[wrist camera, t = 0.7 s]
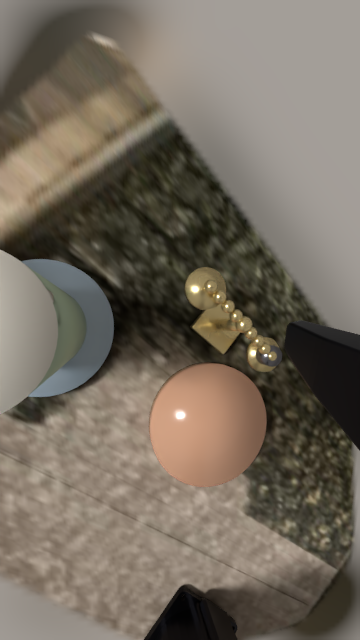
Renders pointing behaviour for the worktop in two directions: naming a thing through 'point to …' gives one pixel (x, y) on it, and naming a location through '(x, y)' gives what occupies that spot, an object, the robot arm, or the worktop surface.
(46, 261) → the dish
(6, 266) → the canister
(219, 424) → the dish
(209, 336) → the balance
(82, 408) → the worktop surface
